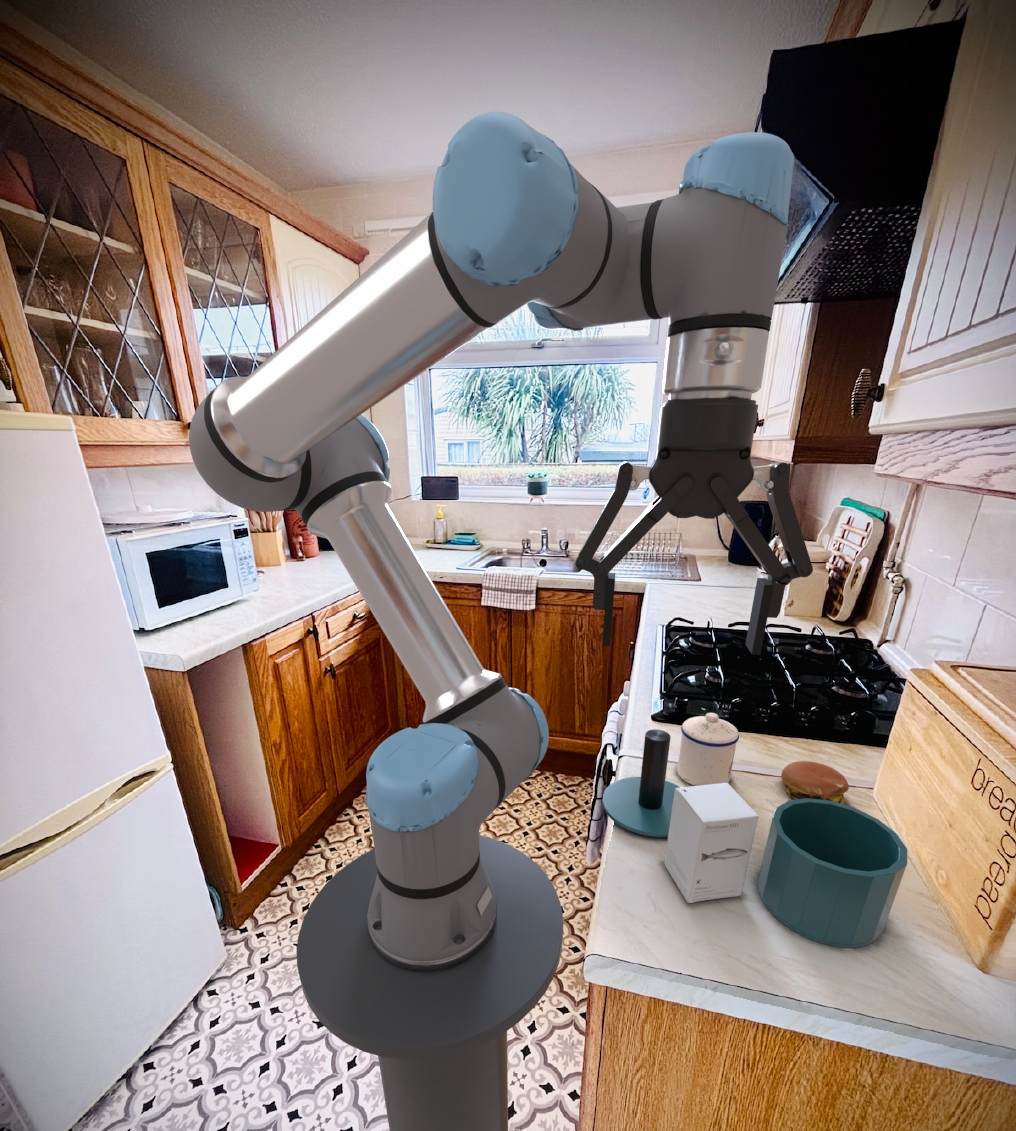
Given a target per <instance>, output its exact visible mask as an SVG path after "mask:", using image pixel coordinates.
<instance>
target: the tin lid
mask: <svg viewBox="0 0 1016 1131" xmlns="http://www.w3.org/2000/svg"><path fill="white" fill-rule="evenodd" d="M670 745H671V734H670V733H669V732H667V731H666V730H663V729H649V730H647V731H645V733H644V742H643V752H642V761H641V770H640V776H631V777H625V778H621V779H617V780H616V781H614V782H611V784H610V785H608V786H607V787H606V788H605V789H604V792H603V794H602V802H601V803H602V807H603V810H604V812H605V813H606V815H607V816H608V817H609V818H610V819H611V820H612V821H613V822H614V823H615V824H617V825H619V826H620V827H622V828H623V829H626V830H628V831H630V832H632V833H635V834H639V835H642V836H648V837H655V838H658V837H659V838H668V834H669V827H670V820H671V813H672V806H673V800H674V792H675V788H680V787H681V786H679V785H677V784H675V783H673V782H670V781H668V780H666V777H667V768H668V761H669V753H670V752H669V751H670Z"/></svg>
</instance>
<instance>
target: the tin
mask: <svg viewBox="0 0 1016 1131" xmlns="http://www.w3.org/2000/svg"><path fill="white" fill-rule="evenodd" d="M768 831H769V832H768V836H767V840H766V845H765V849H764V854H763V858H762V861H761V862H762V863H761V866H760V871H759V875H758V880H757V885H758V886H757V888H758V892H759V896H760V899H761V900H762V902H763V904H764V906H765V907H766V908H767V910H768V911H769V912H770V913H771V914H772V915H773V917H775V918H776V919H777V920H778V921H779V922H780V923H782V924H783V925H784V926H785V927H787V928H788V929H790V930H792V931H793V932H795V933H797V934H798V935H800V936H801V937H804V938H806V939H809V940H812V941H814V942H815V943H819V944H823V945H825V946H830V947H835V948H844V949H847V948H848V949H850V948H851V949H853V948H854V949H855V948H861V947H865V946H868V945H870V944H872V943H874V942H875V941H876V940H877V939H878V938H879V937H880V936H881V934H882V932H884V930H885V927H886V925H887V921H888V918H889V916H890V913H891V910H892V908H893V905H894V901H895V899H896V897H897V893H898V891H899V889H900V888H899V887H900V885H901V883H902V880H903V876H904V873H905V871H906V868H907V866H908V848H907V846H906V845H905V844H904V842H903V840H902V839H901V838H900V836H899V835H898V834H897V833H896V832H895V831H894V830H893V829H892V828H890V827H889V826H887V824H885V823H884V822H882V821H881V820H880V819H878V818H876V817H874V816H873V815H871V814H868V813H867V812H864V811H862V810H860V809H858V808H856V807H854V806H850V805H847V804H845V803H844V804H840V803H837V802H833V801H828V800H819V799H809V798H805V799H798V800H796V799H791V800H788V801H785V802H784V803H782V804H780V805H778V806H776V808H775V809H774V813H773V816H772V819H771V822H770V827H769V830H768Z"/></svg>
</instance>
